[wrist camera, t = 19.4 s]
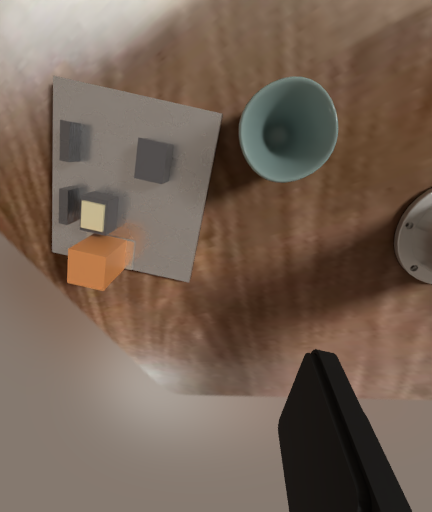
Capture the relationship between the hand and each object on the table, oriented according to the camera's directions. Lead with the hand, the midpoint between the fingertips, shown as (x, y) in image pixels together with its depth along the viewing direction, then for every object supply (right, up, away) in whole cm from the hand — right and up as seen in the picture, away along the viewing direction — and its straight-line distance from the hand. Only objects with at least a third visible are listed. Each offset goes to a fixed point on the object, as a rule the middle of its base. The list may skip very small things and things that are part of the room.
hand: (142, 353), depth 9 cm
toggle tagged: (-11, +8, +26) cm, 30 cm away
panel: (-8, +11, +27) cm, 30 cm away
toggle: (-4, +14, +24) cm, 28 cm away
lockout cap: (-11, +3, +28) cm, 30 cm away
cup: (+9, +16, +24) cm, 30 cm away
